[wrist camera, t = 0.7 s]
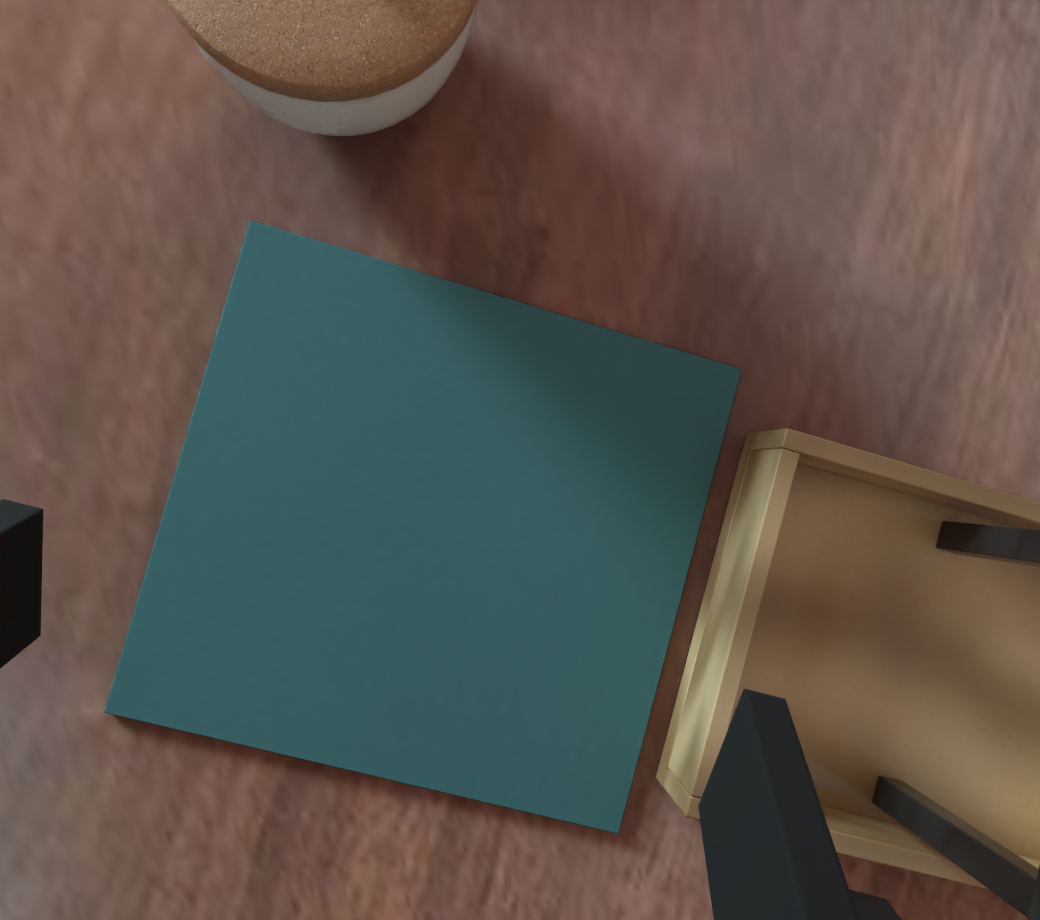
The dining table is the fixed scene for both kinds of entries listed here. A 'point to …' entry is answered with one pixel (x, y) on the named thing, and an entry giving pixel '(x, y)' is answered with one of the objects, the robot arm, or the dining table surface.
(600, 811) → the mat
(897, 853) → the tray
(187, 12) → the white jar with lid
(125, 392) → the dining table surface
